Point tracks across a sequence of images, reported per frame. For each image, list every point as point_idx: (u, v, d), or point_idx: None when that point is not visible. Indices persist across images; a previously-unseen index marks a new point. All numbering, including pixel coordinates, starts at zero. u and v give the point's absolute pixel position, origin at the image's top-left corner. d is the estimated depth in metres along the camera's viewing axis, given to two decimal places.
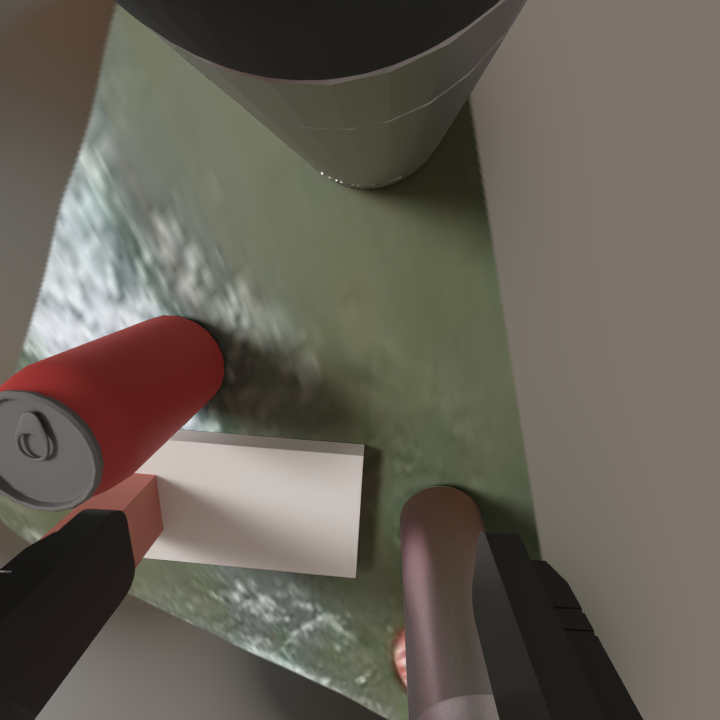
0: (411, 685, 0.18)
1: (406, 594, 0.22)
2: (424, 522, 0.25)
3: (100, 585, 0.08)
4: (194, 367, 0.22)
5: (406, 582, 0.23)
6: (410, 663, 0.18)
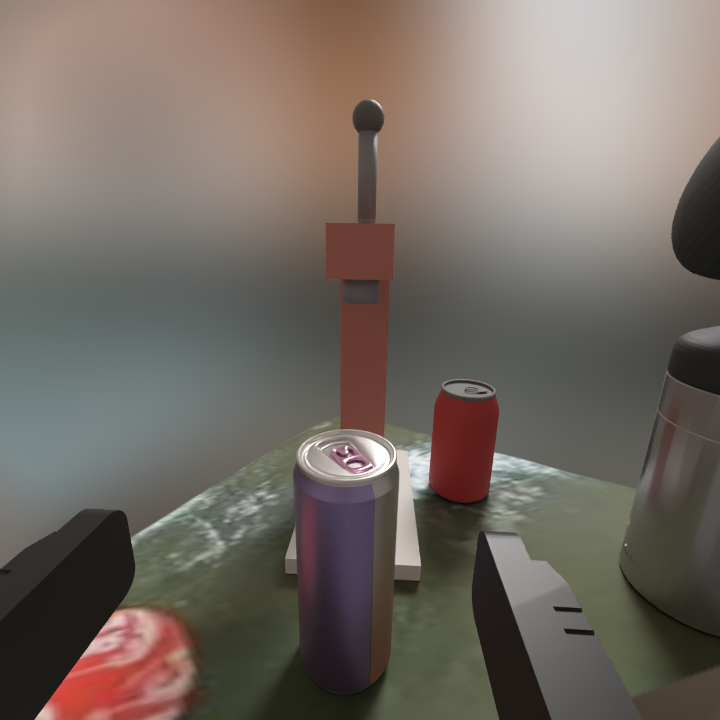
0: None
1: None
2: None
3: (100, 585, 0.08)
4: (479, 470, 0.39)
5: None
6: None
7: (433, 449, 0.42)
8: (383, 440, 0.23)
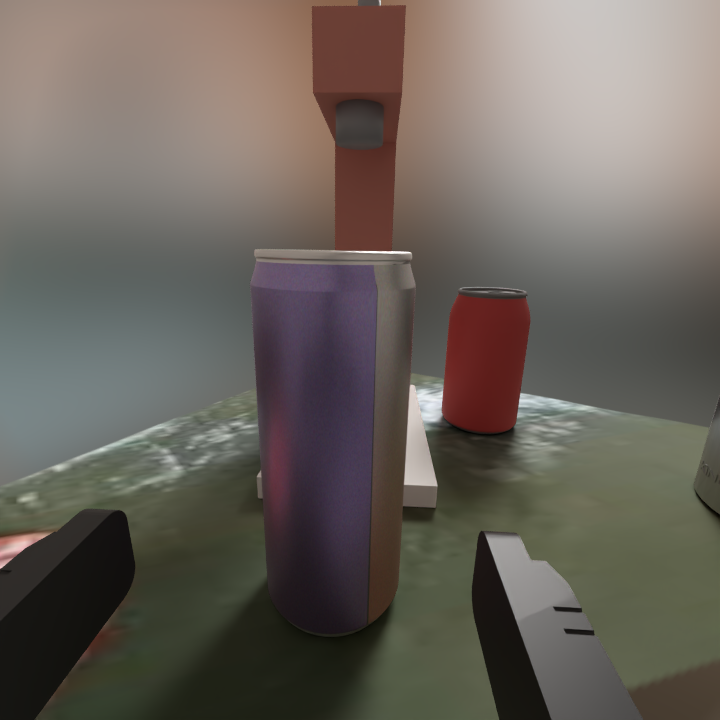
0: None
1: None
2: None
3: (100, 585, 0.08)
4: (505, 390, 0.32)
5: None
6: None
7: (448, 370, 0.34)
8: None
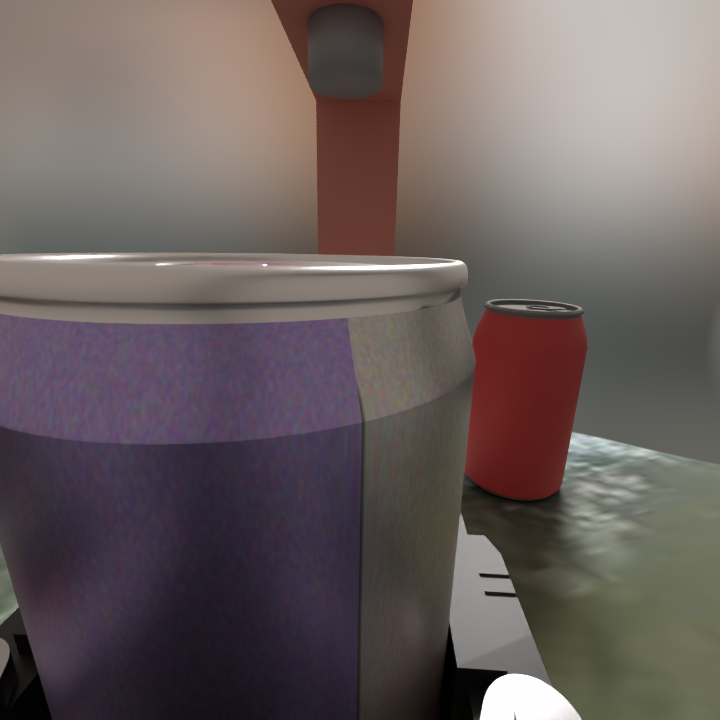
0: None
1: None
2: None
3: None
4: (553, 443, 0.23)
5: None
6: None
7: None
8: (400, 261, 0.07)
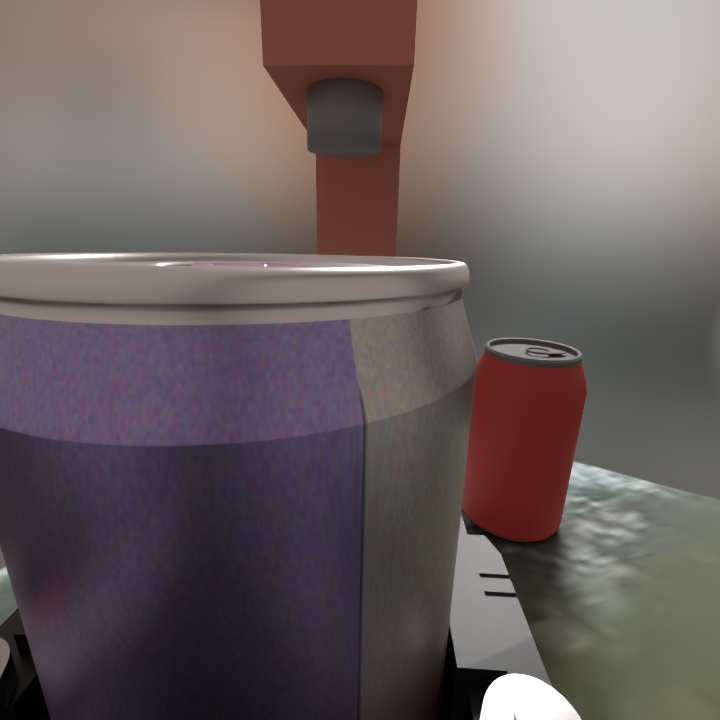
0: None
1: None
2: None
3: None
4: (552, 488, 0.23)
5: None
6: None
7: (470, 451, 0.25)
8: (401, 261, 0.07)
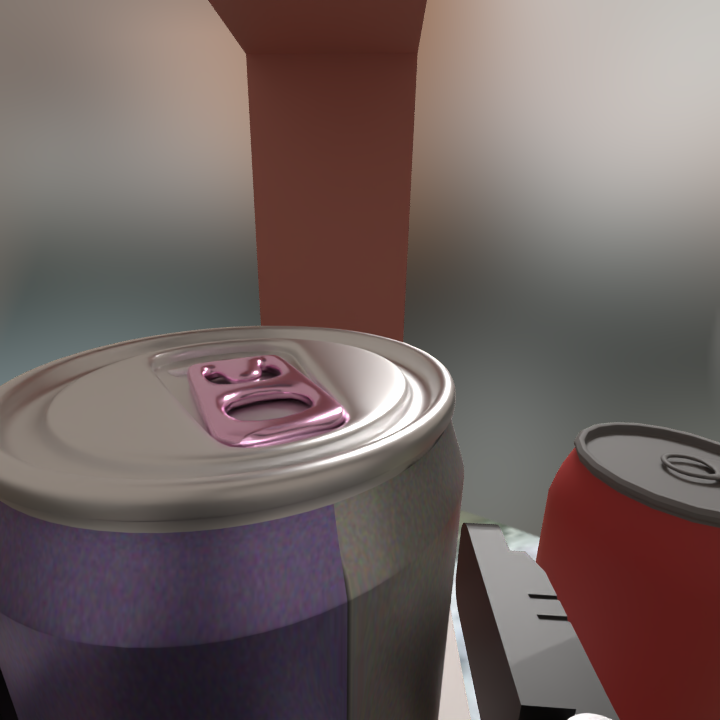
0: None
1: None
2: None
3: None
4: None
5: None
6: None
7: None
8: (394, 346, 0.07)
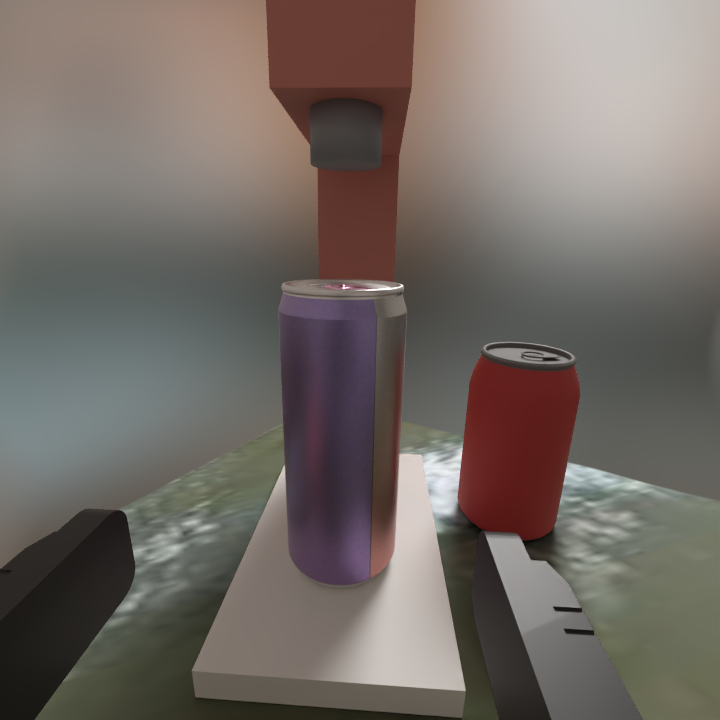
0: None
1: None
2: None
3: (100, 585, 0.08)
4: (546, 488, 0.24)
5: None
6: None
7: (467, 452, 0.26)
8: (387, 283, 0.19)
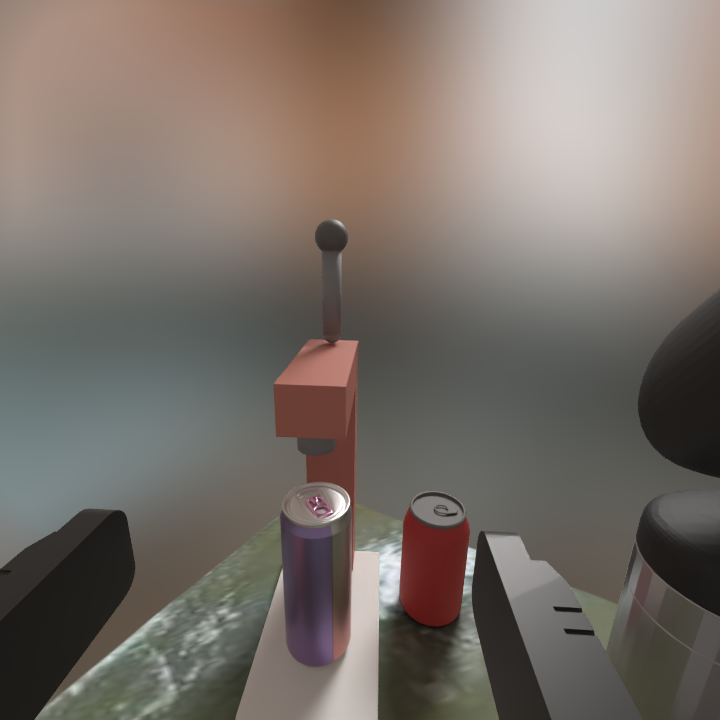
0: None
1: None
2: None
3: (100, 585, 0.08)
4: (448, 595, 0.38)
5: None
6: None
7: (402, 567, 0.40)
8: (343, 491, 0.33)
